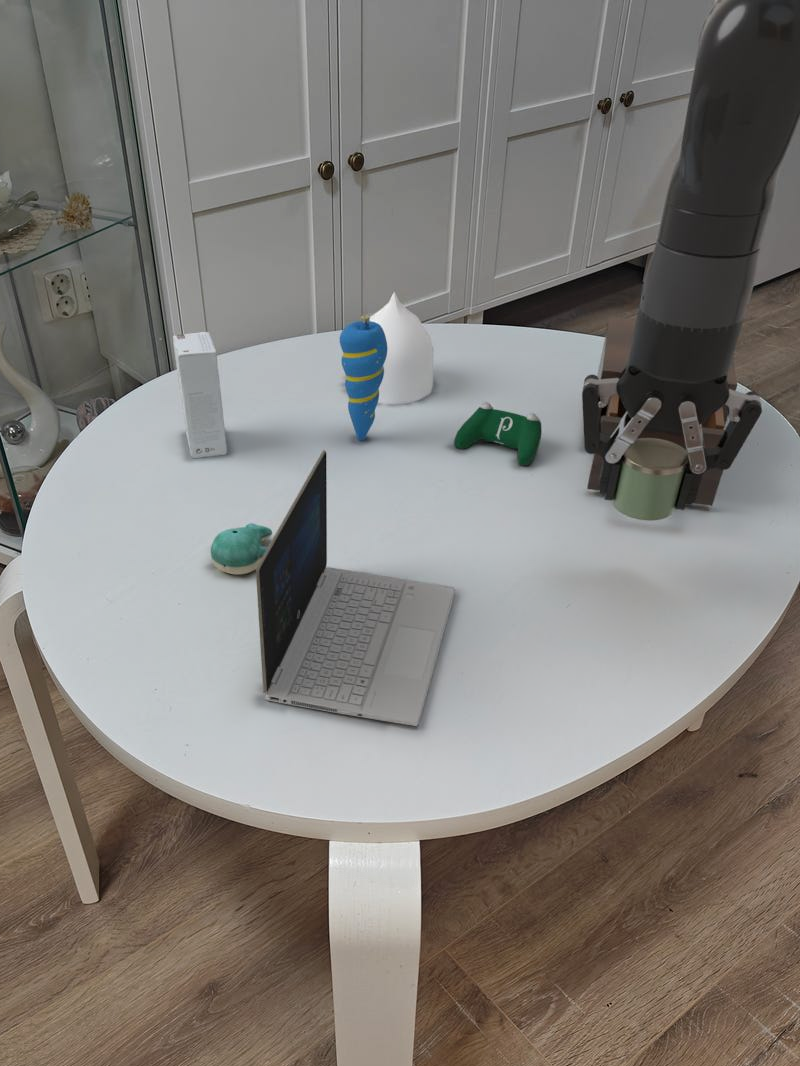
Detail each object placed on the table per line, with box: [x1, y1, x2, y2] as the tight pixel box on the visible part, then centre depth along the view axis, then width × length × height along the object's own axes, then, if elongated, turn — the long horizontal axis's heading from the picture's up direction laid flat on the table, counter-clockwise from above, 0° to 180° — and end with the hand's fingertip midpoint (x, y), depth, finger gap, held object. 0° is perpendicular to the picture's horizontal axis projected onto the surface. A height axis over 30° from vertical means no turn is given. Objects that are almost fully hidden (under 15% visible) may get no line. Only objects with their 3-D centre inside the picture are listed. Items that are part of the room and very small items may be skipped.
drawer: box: [586, 393, 726, 507], centre depth 94 cm, size 19×12×8 cm, turn 164°
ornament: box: [339, 309, 387, 442], centre depth 100 cm, size 5×5×15 cm
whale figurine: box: [210, 523, 273, 575], centre depth 86 cm, size 6×7×4 cm
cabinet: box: [596, 317, 738, 428], centre depth 104 cm, size 16×14×10 cm
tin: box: [611, 438, 689, 522], centre depth 77 cm, size 5×5×5 cm
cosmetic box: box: [172, 331, 228, 459], centre depth 100 cm, size 6×4×12 cm
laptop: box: [255, 449, 456, 727], centre depth 73 cm, size 18×12×13 cm
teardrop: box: [369, 291, 435, 405], centre depth 112 cm, size 11×11×12 cm
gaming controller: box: [453, 401, 542, 467], centre depth 102 cm, size 9×4×6 cm
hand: (644, 499), depth 79 cm, fingers closed on tin, 5 cm apart
